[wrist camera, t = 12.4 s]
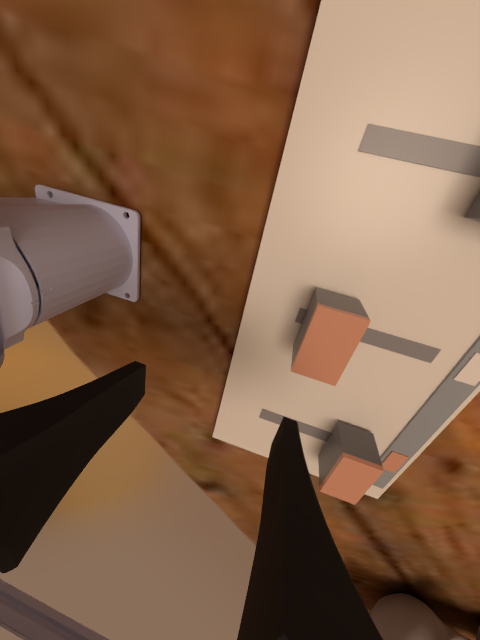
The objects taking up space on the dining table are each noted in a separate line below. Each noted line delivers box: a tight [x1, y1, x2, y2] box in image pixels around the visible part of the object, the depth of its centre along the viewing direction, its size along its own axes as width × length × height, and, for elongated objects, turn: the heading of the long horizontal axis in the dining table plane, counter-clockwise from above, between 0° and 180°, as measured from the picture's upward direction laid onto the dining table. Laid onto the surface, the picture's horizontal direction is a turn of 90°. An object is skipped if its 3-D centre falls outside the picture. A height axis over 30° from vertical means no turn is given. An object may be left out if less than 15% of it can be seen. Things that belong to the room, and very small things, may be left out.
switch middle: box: [291, 287, 371, 386], centre depth 16 cm, size 3×5×3 cm, turn 168°
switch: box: [318, 422, 384, 505], centre depth 21 cm, size 3×5×3 cm, turn 168°
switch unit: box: [213, 0, 480, 499], centre depth 18 cm, size 18×34×2 cm, turn 168°
